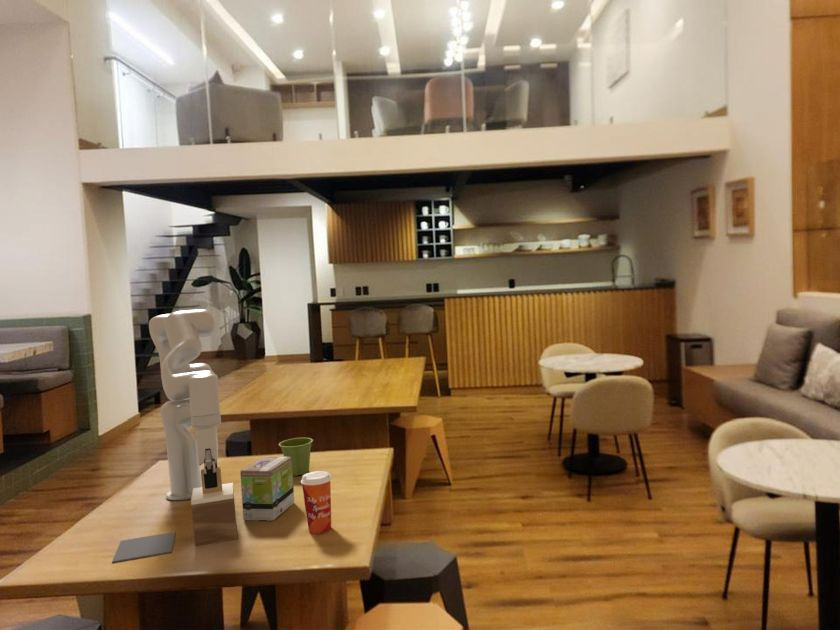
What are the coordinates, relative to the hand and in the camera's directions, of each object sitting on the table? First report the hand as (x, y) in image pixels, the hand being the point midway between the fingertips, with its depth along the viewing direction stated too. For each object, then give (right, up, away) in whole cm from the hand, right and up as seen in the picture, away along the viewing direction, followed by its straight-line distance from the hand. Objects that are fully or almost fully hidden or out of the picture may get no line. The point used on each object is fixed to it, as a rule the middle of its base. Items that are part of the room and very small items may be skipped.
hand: (211, 482), depth 176 cm
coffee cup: (+29, -13, 0) cm, 32 cm away
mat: (-16, -16, -4) cm, 23 cm away
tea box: (+12, -13, +17) cm, 24 cm away
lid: (0, -5, 0) cm, 5 cm away
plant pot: (+13, -11, +53) cm, 56 cm away
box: (+1, -15, +1) cm, 15 cm away
